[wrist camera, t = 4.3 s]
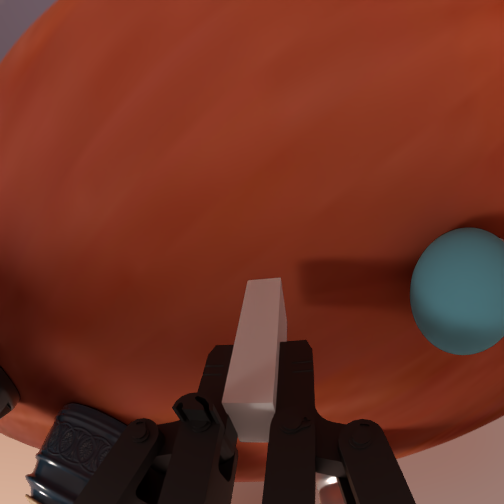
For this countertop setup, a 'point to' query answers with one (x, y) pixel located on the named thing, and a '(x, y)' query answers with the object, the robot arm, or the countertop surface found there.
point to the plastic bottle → (328, 489)
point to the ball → (460, 291)
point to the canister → (72, 454)
